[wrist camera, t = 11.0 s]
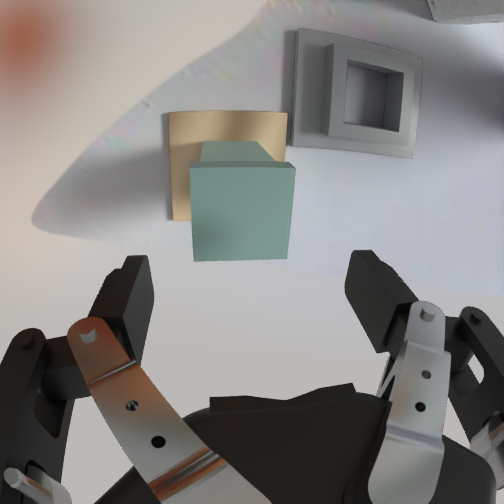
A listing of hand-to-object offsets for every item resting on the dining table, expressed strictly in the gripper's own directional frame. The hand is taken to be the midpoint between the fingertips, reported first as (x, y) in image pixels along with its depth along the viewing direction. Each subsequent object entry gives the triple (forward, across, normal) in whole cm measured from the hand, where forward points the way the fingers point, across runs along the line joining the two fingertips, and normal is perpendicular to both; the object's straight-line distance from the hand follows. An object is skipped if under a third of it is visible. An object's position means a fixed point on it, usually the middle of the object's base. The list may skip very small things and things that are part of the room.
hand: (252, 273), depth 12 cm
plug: (+16, 0, 0) cm, 16 cm away
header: (+17, -12, -8) cm, 22 cm away
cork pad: (+17, 0, 0) cm, 17 cm away
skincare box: (+18, -23, -22) cm, 36 cm away
